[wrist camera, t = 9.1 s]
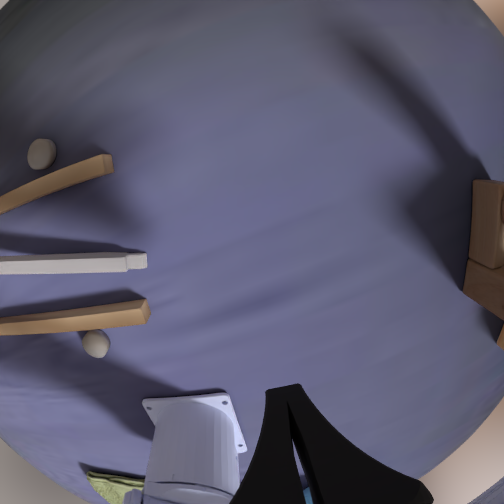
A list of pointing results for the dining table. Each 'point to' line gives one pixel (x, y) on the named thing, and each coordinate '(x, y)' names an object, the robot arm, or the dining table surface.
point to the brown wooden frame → (486, 247)
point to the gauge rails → (80, 318)
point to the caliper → (73, 263)
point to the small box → (501, 339)
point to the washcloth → (113, 486)
